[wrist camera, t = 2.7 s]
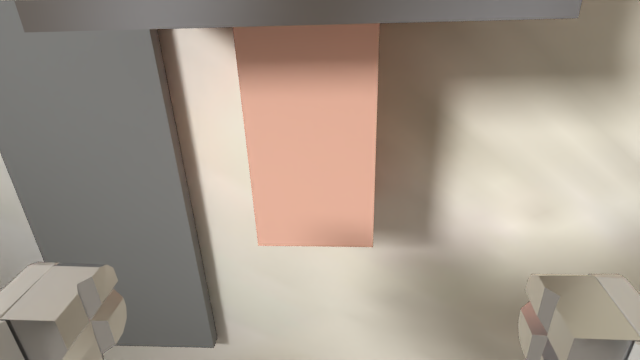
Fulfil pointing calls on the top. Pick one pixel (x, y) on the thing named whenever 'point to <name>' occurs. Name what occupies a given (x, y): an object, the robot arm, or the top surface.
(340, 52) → the pink rectangular block
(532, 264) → the top surface
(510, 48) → the top surface
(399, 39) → the top surface
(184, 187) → the mat
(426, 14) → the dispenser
